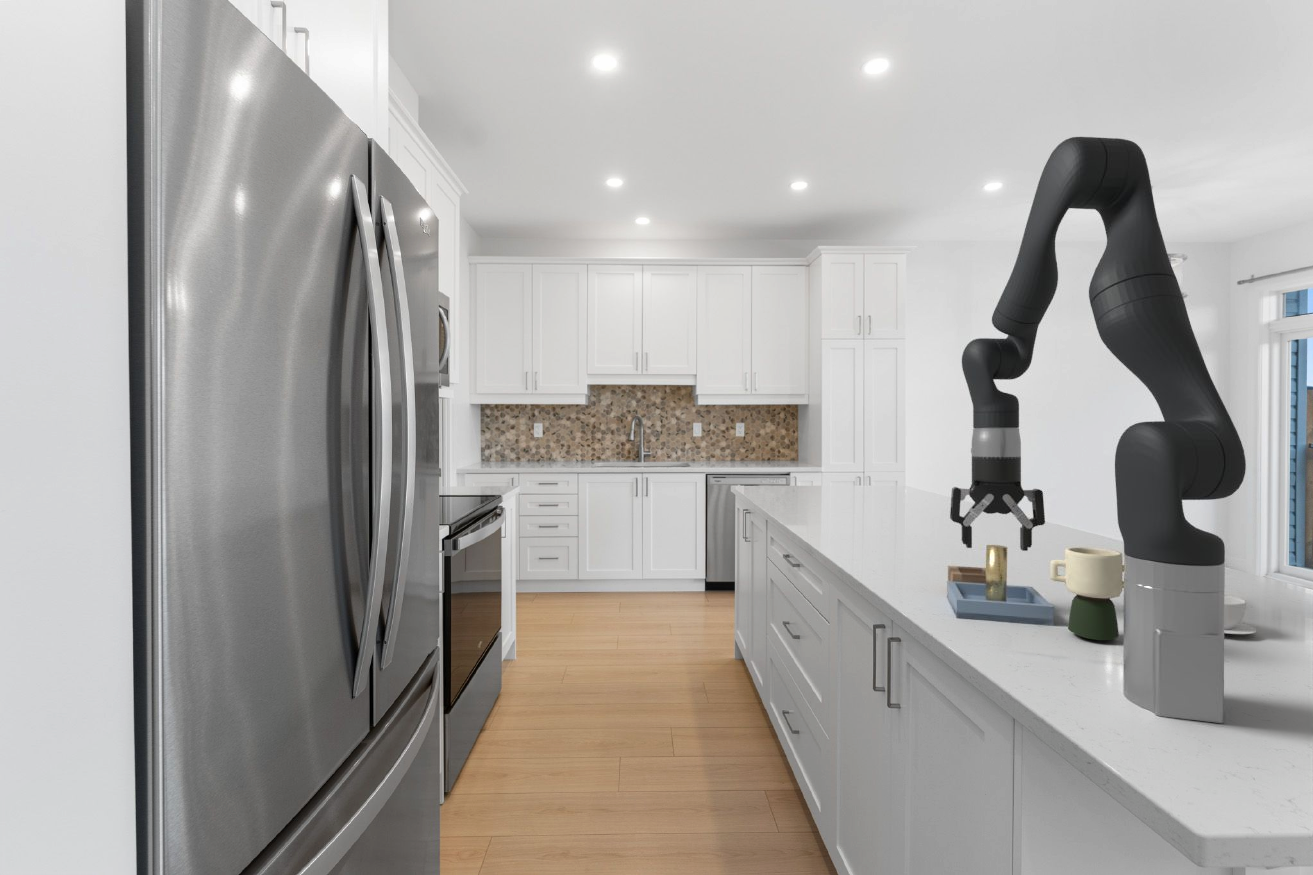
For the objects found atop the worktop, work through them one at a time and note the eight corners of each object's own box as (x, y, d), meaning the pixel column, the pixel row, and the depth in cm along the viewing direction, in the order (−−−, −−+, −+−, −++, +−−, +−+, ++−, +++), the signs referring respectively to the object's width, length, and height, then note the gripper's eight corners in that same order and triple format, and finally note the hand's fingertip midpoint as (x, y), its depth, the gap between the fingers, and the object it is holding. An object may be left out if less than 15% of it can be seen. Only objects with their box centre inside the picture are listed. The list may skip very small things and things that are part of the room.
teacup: (1260, 641, 95) (1261, 609, 95) (1174, 629, 101) (1174, 599, 101) (1252, 625, 103) (1253, 596, 103) (1173, 614, 109) (1173, 587, 109)
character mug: (1135, 637, 97) (1135, 550, 96) (1141, 651, 90) (1141, 558, 90) (1049, 626, 102) (1050, 544, 102) (1050, 638, 96) (1050, 551, 96)
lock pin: (1007, 607, 109) (1008, 548, 109) (986, 605, 110) (987, 547, 110) (1004, 603, 112) (1005, 545, 112) (984, 601, 113) (985, 544, 113)
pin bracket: (997, 597, 119) (997, 576, 119) (952, 594, 122) (952, 573, 122) (990, 588, 126) (990, 568, 126) (947, 585, 129) (947, 565, 129)
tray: (1053, 625, 102) (1053, 606, 102) (956, 617, 107) (956, 599, 107) (1032, 603, 116) (1032, 586, 116) (946, 597, 120) (946, 581, 120)
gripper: (953, 454, 110) (953, 550, 110) (1048, 455, 105) (1049, 554, 105) (948, 453, 117) (948, 543, 117) (1037, 454, 112) (1037, 547, 112)
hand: (996, 548), depth 111 cm, fingers open, 8 cm apart
